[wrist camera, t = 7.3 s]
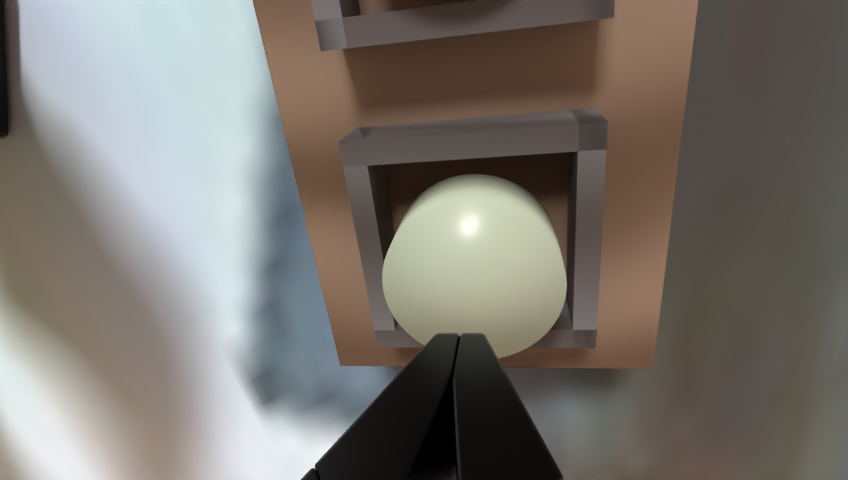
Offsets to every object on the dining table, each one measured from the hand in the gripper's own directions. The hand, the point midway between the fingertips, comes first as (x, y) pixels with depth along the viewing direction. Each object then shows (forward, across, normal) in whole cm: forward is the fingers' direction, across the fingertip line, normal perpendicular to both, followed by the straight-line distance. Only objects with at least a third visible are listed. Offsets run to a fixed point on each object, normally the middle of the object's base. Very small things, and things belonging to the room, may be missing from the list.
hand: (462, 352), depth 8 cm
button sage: (+4, 0, 0) cm, 4 cm away
